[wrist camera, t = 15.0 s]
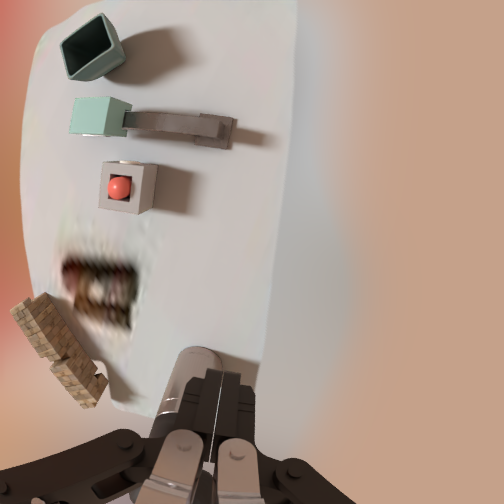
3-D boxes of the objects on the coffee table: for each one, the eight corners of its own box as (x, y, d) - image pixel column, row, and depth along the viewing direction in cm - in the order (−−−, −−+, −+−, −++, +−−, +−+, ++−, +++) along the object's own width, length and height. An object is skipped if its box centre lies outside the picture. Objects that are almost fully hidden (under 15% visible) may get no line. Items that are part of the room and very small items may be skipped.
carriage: (126, 137, 37) (103, 134, 30) (94, 135, 36) (68, 133, 30) (132, 104, 35) (110, 96, 28) (99, 104, 35) (75, 98, 28)
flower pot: (124, 29, 34) (102, 10, 26) (138, 63, 37) (115, 46, 28) (85, 56, 35) (58, 43, 27) (96, 90, 38) (68, 80, 29)
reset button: (137, 196, 41) (125, 201, 37) (119, 194, 41) (106, 198, 37) (139, 176, 40) (127, 178, 36) (121, 174, 40) (108, 176, 36)
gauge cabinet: (152, 207, 44) (138, 214, 39) (115, 201, 44) (98, 207, 38) (158, 163, 42) (144, 164, 36) (120, 159, 42) (103, 160, 36)
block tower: (114, 383, 59) (43, 284, 50) (102, 406, 51) (21, 302, 42) (94, 387, 60) (27, 295, 51) (82, 408, 52) (7, 312, 43)
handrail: (226, 149, 41) (221, 147, 36) (84, 135, 40) (64, 134, 35) (233, 118, 40) (229, 111, 34) (89, 108, 39) (70, 104, 33)
